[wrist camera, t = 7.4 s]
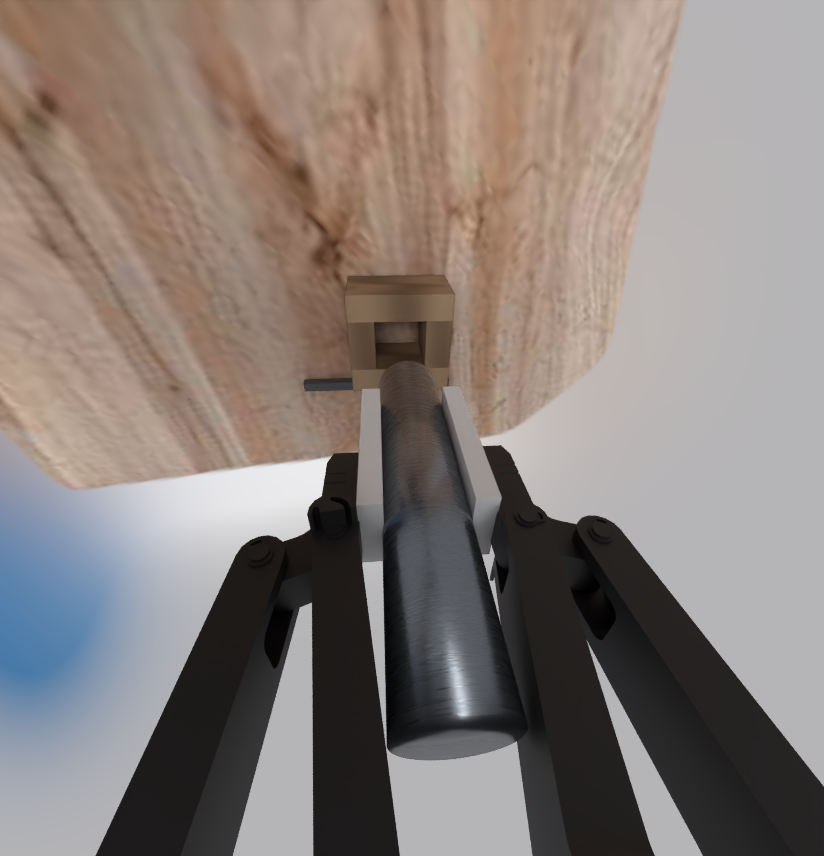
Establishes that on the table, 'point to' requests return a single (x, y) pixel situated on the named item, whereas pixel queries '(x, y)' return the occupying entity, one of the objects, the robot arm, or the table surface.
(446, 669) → the dark grey peg
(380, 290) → the bead block
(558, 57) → the table surface
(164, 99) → the table surface
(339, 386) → the dark grey rod
